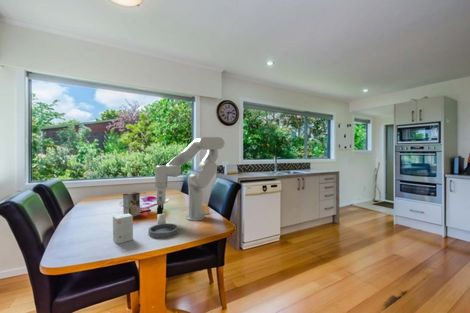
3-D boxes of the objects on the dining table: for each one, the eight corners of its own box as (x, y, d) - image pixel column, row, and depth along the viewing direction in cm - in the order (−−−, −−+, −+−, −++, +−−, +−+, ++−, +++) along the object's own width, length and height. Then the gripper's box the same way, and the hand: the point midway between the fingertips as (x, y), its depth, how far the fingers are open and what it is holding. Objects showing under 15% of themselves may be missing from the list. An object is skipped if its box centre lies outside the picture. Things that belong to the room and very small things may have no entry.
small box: (129, 236, 124) (128, 212, 123) (133, 240, 119) (133, 215, 119) (112, 240, 118) (112, 215, 118) (116, 244, 114) (116, 218, 113)
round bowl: (177, 227, 139) (177, 222, 139) (177, 237, 124) (178, 232, 124) (150, 229, 135) (150, 224, 135) (146, 239, 120) (146, 234, 120)
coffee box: (134, 213, 168) (134, 191, 167) (140, 214, 165) (140, 192, 164) (123, 216, 160) (122, 193, 159) (128, 217, 157) (128, 194, 156)
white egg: (165, 223, 147) (165, 212, 146) (165, 225, 142) (165, 214, 142) (157, 223, 145) (157, 212, 145) (157, 226, 141) (157, 215, 140)
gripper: (166, 187, 135) (165, 215, 135) (167, 183, 152) (167, 208, 152) (153, 187, 133) (152, 215, 134) (156, 183, 150) (155, 208, 150)
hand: (160, 211), depth 143 cm, fingers open, 9 cm apart
